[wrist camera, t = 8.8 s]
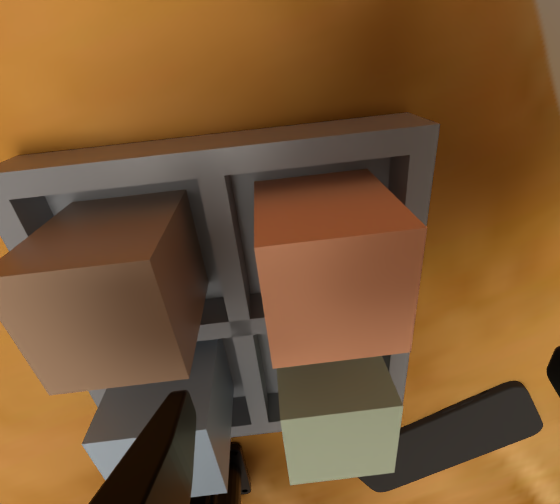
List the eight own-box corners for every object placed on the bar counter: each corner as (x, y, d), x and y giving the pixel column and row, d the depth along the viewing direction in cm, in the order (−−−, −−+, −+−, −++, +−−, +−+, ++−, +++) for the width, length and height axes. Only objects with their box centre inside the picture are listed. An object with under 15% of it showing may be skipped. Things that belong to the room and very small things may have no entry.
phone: (338, 460, 27) (523, 381, 24) (336, 450, 28) (516, 372, 25) (378, 495, 31) (546, 431, 27) (375, 485, 31) (539, 421, 28)
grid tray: (384, 377, 23) (430, 489, 17) (136, 406, 23) (95, 530, 17) (407, 112, 15) (513, 149, 9) (17, 155, 15) (-149, 224, 9)
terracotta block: (364, 264, 17) (410, 352, 12) (267, 276, 17) (272, 368, 12) (367, 168, 15) (427, 227, 10) (254, 181, 15) (254, 247, 10)
